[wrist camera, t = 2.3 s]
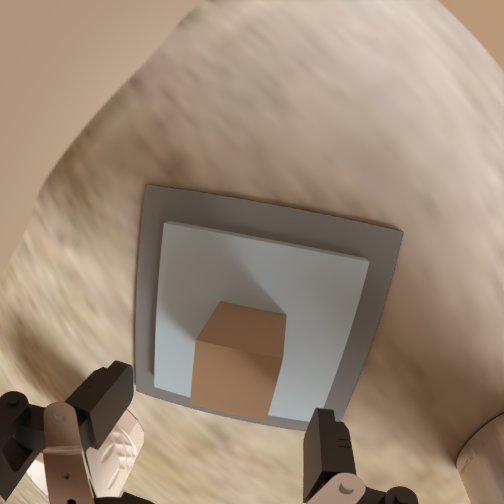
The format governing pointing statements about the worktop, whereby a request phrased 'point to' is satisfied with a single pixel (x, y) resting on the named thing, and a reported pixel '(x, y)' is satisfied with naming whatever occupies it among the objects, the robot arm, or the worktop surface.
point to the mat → (275, 228)
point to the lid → (252, 321)
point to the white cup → (105, 458)
